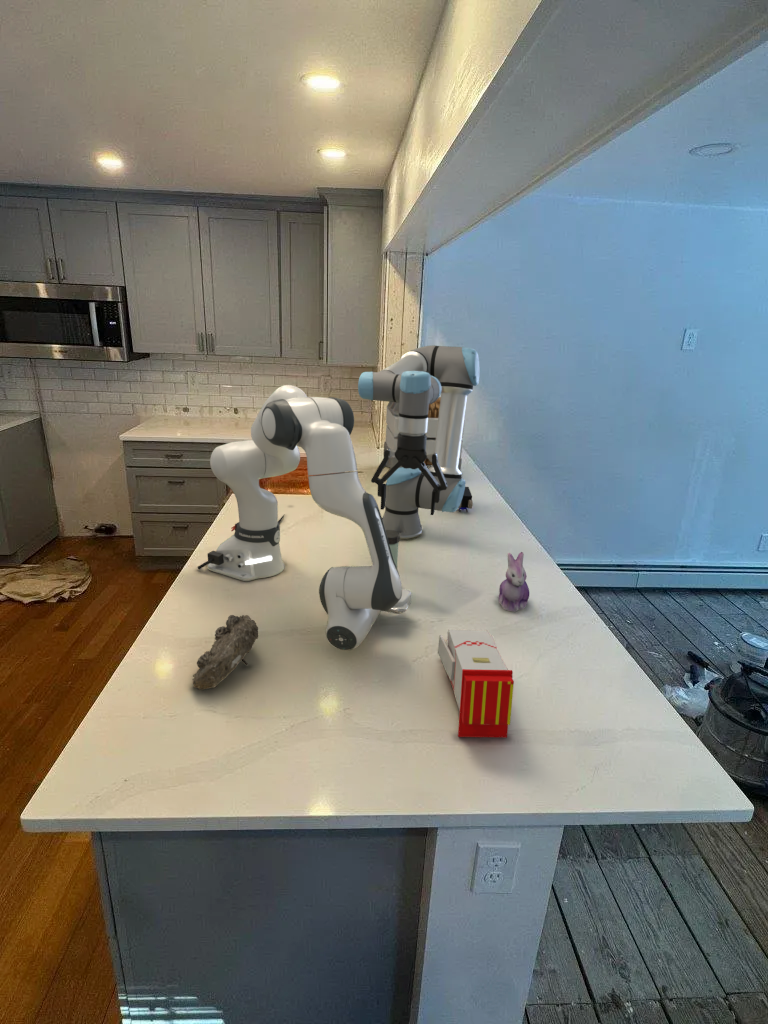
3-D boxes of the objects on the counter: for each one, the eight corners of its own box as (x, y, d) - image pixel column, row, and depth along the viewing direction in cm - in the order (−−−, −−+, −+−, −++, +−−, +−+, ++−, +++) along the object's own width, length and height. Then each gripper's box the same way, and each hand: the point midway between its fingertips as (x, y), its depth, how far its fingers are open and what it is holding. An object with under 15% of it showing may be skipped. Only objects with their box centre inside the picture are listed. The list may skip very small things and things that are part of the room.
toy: (488, 613, 130) (523, 677, 101) (484, 667, 133) (517, 744, 104) (435, 612, 130) (455, 676, 101) (432, 666, 133) (451, 743, 103)
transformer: (382, 463, 289) (386, 382, 275) (445, 464, 293) (451, 384, 279) (390, 482, 257) (394, 392, 243) (460, 483, 261) (468, 394, 247)
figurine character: (472, 517, 222) (467, 501, 236) (475, 500, 219) (469, 484, 233) (455, 517, 222) (451, 500, 236) (457, 499, 219) (452, 484, 232)
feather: (291, 508, 223) (294, 504, 222) (274, 533, 196) (277, 528, 195) (287, 506, 222) (290, 502, 222) (270, 530, 196) (272, 526, 195)
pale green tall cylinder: (386, 583, 163) (388, 530, 158) (399, 590, 160) (402, 535, 154) (373, 589, 160) (375, 534, 154) (386, 596, 156) (389, 540, 151)
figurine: (511, 616, 149) (518, 564, 143) (487, 598, 157) (493, 549, 152) (539, 609, 153) (547, 558, 148) (514, 592, 161) (521, 544, 156)
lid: (388, 534, 159) (388, 528, 158) (403, 540, 155) (404, 534, 154) (374, 539, 155) (374, 533, 154) (389, 546, 151) (389, 539, 150)
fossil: (212, 617, 133) (257, 588, 128) (239, 645, 136) (285, 617, 131) (172, 683, 114) (224, 651, 109) (205, 714, 117) (258, 684, 112)
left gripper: (405, 601, 135) (418, 577, 147) (325, 587, 140) (344, 564, 152) (403, 624, 137) (416, 598, 149) (324, 609, 142) (343, 585, 154)
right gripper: (462, 434, 147) (454, 511, 154) (368, 426, 152) (366, 501, 159) (459, 440, 140) (452, 520, 147) (361, 431, 145) (359, 509, 152)
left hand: (379, 581), depth 151 cm, fingers open, 8 cm apart
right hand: (407, 510), depth 153 cm, fingers open, 13 cm apart
